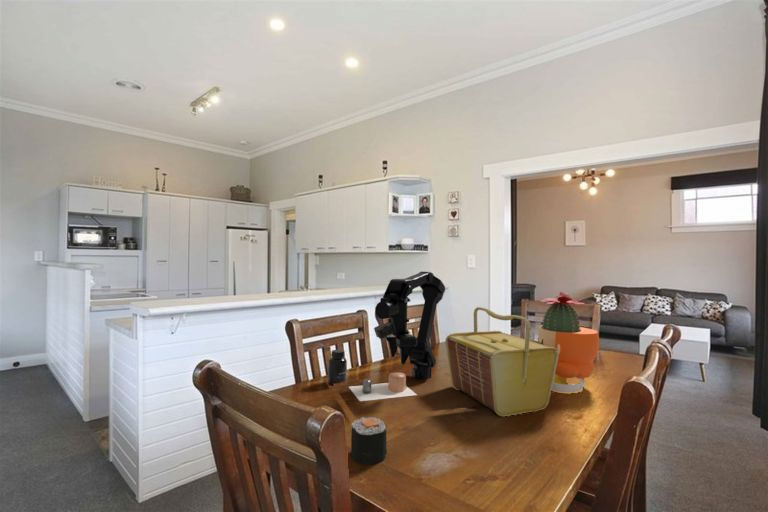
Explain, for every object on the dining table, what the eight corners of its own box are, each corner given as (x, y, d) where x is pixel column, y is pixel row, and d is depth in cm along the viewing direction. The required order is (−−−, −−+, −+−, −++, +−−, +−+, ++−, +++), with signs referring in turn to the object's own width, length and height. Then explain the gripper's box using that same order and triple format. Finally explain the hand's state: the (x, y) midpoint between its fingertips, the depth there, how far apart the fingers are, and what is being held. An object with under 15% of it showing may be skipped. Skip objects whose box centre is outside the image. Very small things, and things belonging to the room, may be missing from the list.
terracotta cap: (401, 385, 138) (401, 371, 138) (407, 391, 132) (408, 376, 132) (386, 387, 136) (387, 373, 136) (392, 392, 130) (392, 377, 130)
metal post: (369, 390, 132) (369, 378, 132) (372, 393, 129) (372, 381, 129) (361, 391, 131) (361, 379, 131) (363, 394, 128) (364, 382, 128)
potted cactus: (532, 389, 142) (534, 294, 142) (538, 373, 162) (541, 290, 162) (599, 400, 132) (601, 298, 132) (597, 382, 152) (599, 293, 152)
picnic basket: (442, 389, 139) (444, 306, 139) (500, 382, 149) (502, 305, 149) (492, 423, 112) (494, 320, 112) (560, 412, 121) (563, 317, 121)
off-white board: (401, 385, 142) (401, 381, 142) (417, 399, 129) (417, 394, 129) (348, 390, 135) (348, 386, 135) (359, 405, 122) (359, 401, 122)
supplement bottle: (342, 387, 139) (343, 353, 139) (325, 385, 140) (325, 352, 140) (348, 381, 146) (349, 349, 146) (331, 379, 147) (332, 348, 147)
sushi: (375, 443, 98) (376, 412, 98) (391, 459, 91) (392, 425, 91) (345, 450, 94) (346, 418, 94) (360, 467, 87) (361, 432, 87)
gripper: (368, 312, 140) (367, 355, 140) (386, 321, 123) (385, 370, 123) (397, 311, 144) (396, 353, 144) (418, 319, 126) (417, 367, 126)
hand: (397, 360), depth 134 cm, fingers open, 9 cm apart
